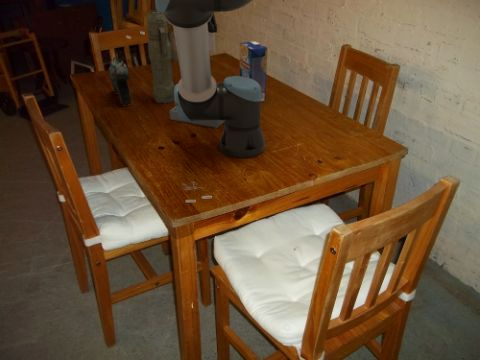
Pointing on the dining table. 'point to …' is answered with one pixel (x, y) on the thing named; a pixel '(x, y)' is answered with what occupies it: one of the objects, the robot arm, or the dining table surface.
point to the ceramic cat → (120, 80)
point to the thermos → (160, 57)
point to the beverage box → (254, 63)
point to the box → (205, 123)
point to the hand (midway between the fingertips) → (203, 55)
